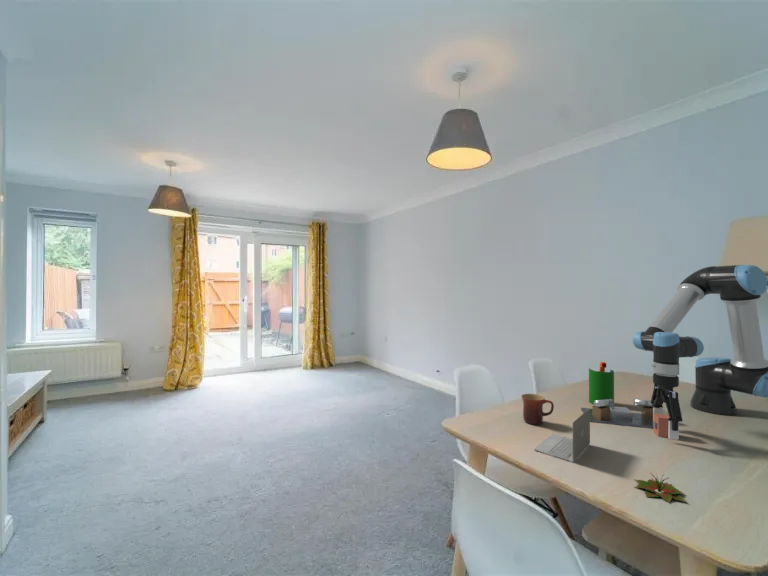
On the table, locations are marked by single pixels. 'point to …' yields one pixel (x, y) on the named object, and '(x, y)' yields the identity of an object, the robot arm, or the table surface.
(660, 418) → the block
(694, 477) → the table surface
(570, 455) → the laptop
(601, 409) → the shaft
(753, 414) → the table surface
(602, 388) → the motor
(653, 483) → the lily flower
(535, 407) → the mug
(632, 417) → the base plate
